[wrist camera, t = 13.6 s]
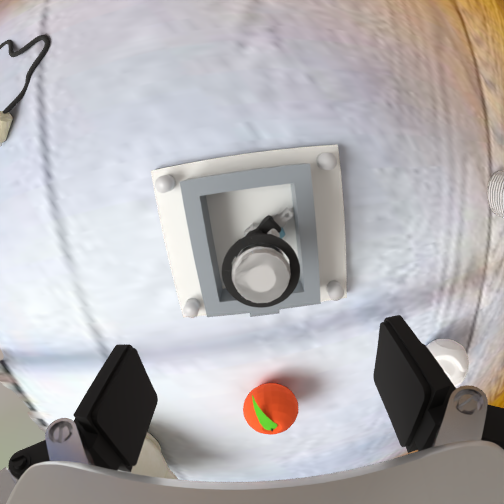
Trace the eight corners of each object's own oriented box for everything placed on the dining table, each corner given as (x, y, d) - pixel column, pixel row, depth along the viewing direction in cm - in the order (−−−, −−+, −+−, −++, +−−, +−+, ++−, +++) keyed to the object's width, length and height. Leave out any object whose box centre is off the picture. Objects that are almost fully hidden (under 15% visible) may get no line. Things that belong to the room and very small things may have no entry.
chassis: (335, 145, 26) (347, 143, 22) (344, 293, 31) (354, 311, 27) (154, 170, 27) (139, 172, 23) (185, 312, 32) (177, 332, 28)
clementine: (229, 379, 35) (225, 420, 29) (276, 359, 34) (279, 400, 27) (260, 412, 37) (261, 450, 31) (304, 394, 36) (310, 433, 30)
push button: (270, 189, 27) (279, 206, 17) (308, 229, 28) (334, 266, 18) (220, 236, 28) (203, 277, 19) (257, 273, 29) (259, 328, 20)
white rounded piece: (407, 341, 34) (432, 377, 26) (451, 318, 33) (480, 348, 25) (409, 378, 36) (429, 412, 29) (450, 357, 35) (473, 387, 28)
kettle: (82, 441, 43) (44, 527, 20) (66, 388, 38) (3, 494, 14) (194, 476, 45) (180, 575, 21) (205, 432, 39) (185, 570, 16)
